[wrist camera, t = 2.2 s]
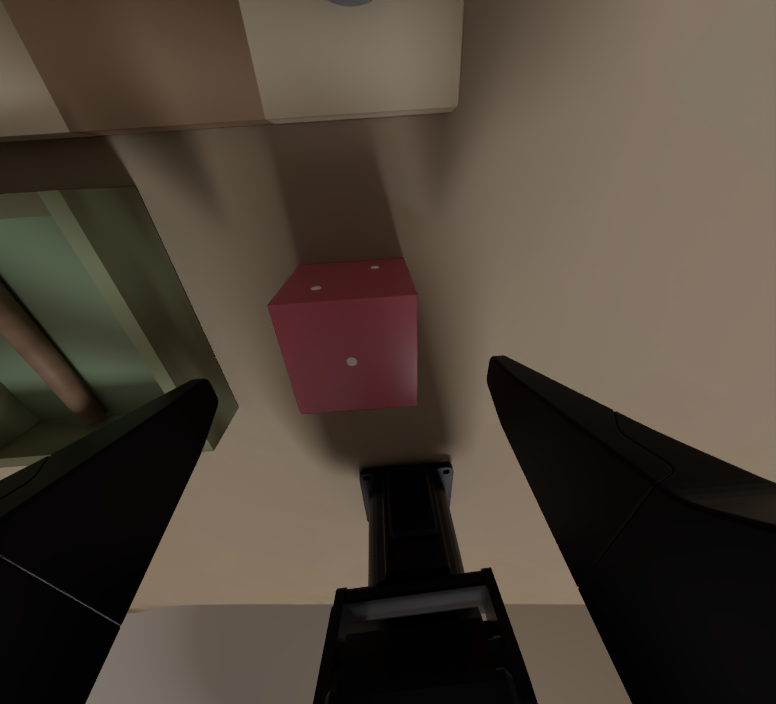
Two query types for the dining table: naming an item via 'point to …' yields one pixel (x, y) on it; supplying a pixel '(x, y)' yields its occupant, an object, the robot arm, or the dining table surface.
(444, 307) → the dining table surface
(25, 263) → the tray
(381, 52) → the board
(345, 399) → the die
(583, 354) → the dining table surface
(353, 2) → the pawn
